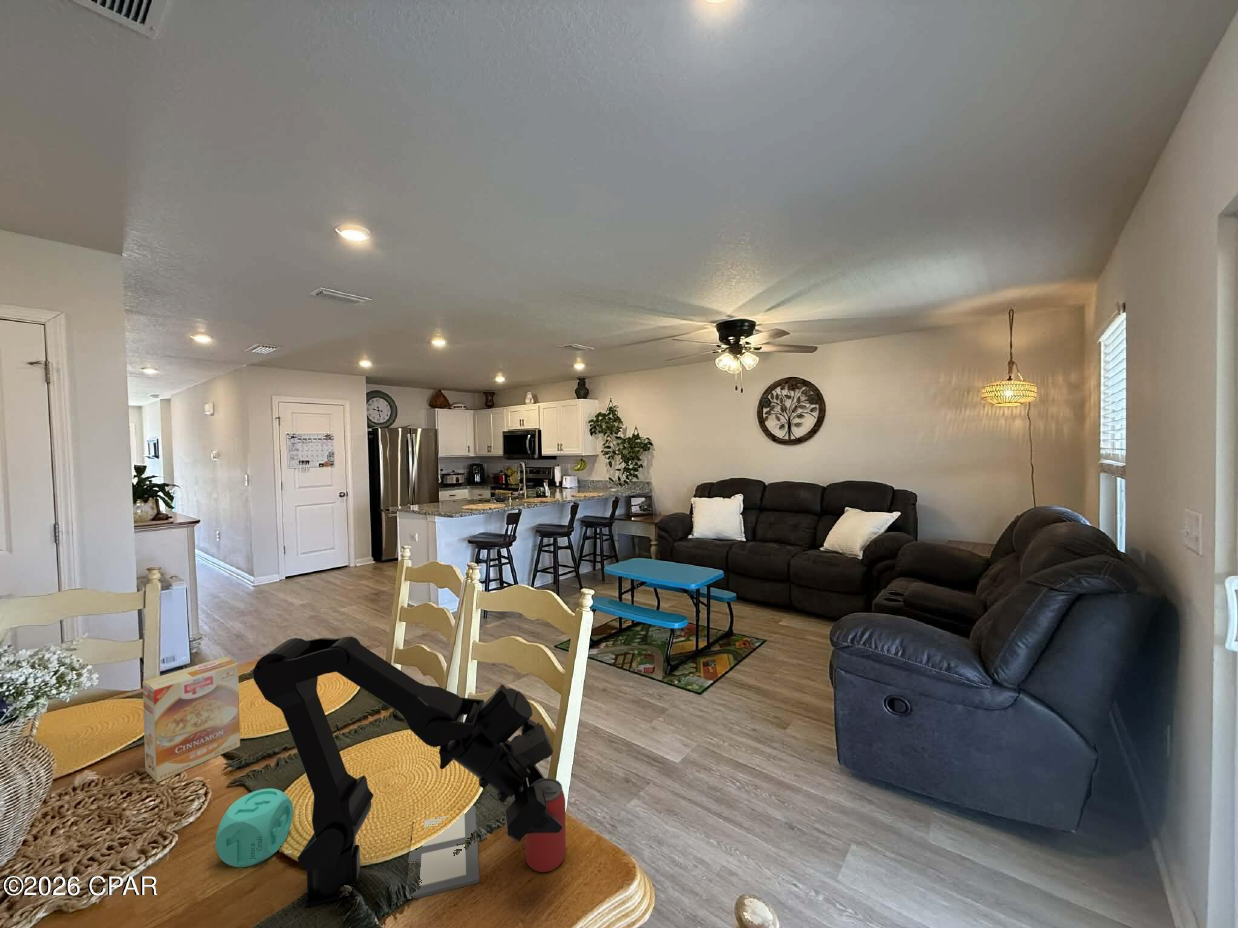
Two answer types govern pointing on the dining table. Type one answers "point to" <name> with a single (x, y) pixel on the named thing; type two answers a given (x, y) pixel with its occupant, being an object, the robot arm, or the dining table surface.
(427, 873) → the label board
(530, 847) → the beer can
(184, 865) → the dining table surface
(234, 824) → the decorative dice
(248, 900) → the dining table surface
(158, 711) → the coffeecake box
